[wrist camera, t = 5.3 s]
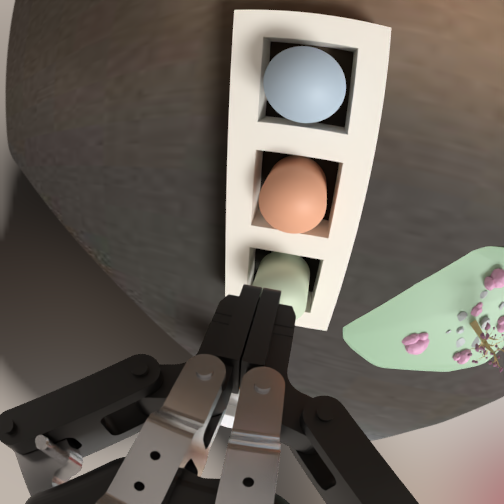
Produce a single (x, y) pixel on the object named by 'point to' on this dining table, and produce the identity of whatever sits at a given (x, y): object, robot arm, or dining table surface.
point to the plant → (439, 319)
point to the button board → (300, 147)
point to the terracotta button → (294, 195)
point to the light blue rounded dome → (304, 84)
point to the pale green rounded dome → (285, 279)
